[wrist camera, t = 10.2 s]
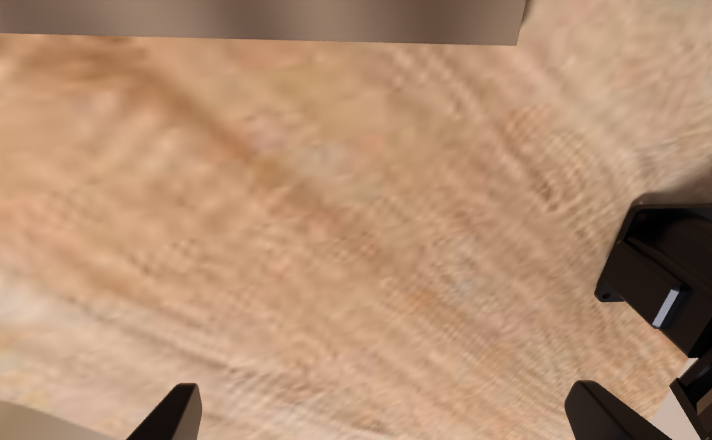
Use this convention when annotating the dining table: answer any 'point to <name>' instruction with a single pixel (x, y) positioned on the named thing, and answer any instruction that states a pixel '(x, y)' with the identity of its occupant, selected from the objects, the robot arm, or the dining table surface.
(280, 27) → the socket board
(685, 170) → the dining table surface
